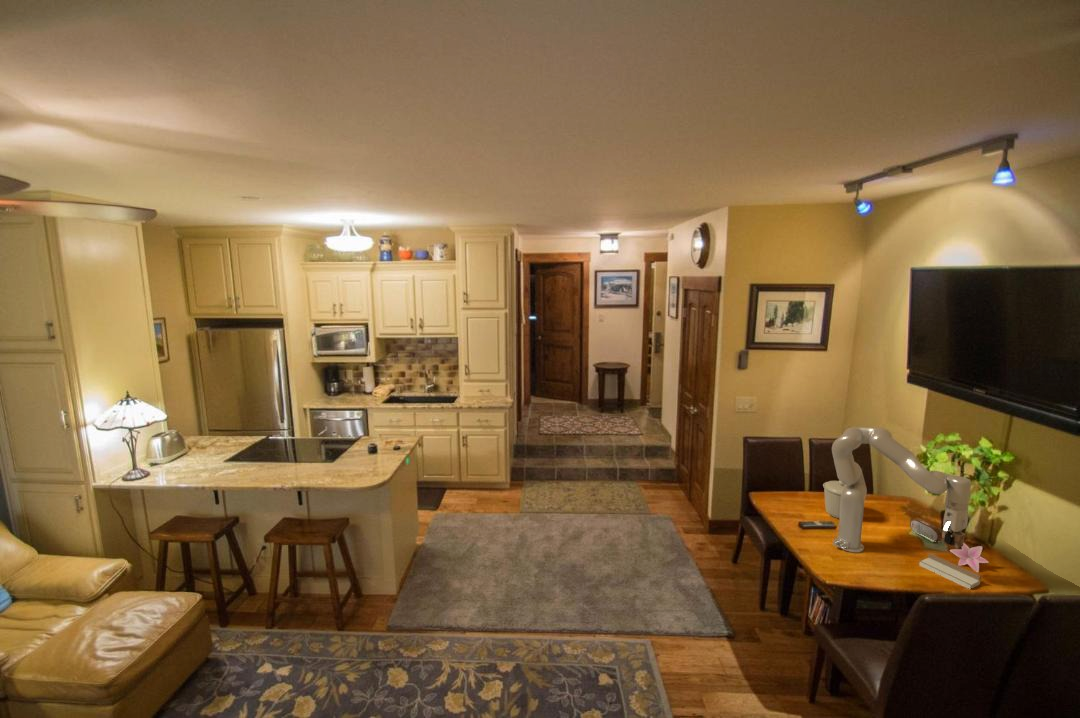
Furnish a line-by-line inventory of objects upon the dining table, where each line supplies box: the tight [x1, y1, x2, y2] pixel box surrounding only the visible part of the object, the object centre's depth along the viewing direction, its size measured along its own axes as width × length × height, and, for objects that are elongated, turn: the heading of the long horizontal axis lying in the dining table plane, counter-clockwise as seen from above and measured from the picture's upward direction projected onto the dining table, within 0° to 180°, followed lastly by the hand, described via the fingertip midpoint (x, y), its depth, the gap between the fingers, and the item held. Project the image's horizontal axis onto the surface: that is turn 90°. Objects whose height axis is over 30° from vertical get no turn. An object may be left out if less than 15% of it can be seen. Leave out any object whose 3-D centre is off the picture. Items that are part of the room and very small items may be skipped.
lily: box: [949, 542, 989, 573], centre depth 214 cm, size 12×12×10 cm
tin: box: [909, 517, 942, 543], centre depth 237 cm, size 15×3×8 cm, turn 12°
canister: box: [822, 479, 844, 520], centre depth 260 cm, size 18×18×21 cm
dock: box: [918, 553, 982, 590], centre depth 207 cm, size 8×19×4 cm, turn 23°
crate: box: [940, 528, 966, 549], centre depth 204 cm, size 5×6×6 cm
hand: (952, 541), depth 205 cm, fingers closed on crate, 4 cm apart
